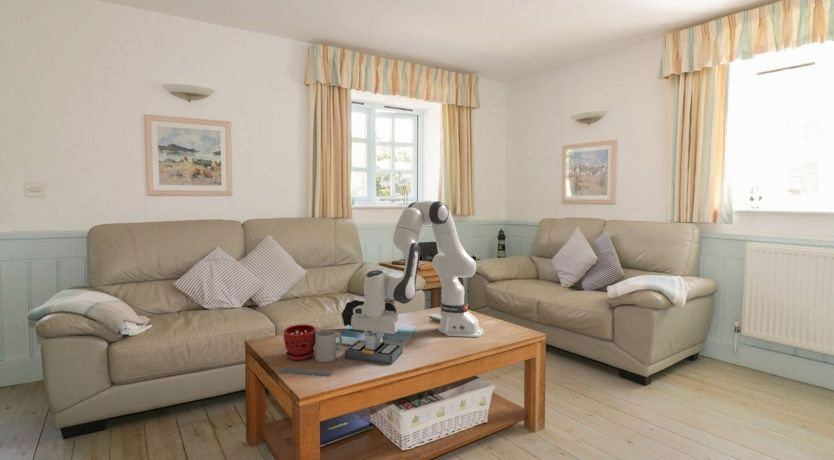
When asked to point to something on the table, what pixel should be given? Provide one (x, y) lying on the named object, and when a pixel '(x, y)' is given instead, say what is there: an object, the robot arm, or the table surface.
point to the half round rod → (306, 372)
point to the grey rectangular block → (372, 341)
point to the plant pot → (299, 341)
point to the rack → (374, 352)
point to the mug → (326, 345)
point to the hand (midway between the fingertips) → (374, 341)
